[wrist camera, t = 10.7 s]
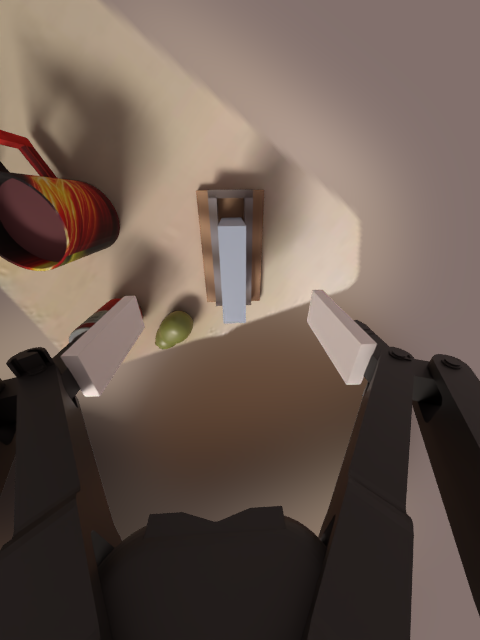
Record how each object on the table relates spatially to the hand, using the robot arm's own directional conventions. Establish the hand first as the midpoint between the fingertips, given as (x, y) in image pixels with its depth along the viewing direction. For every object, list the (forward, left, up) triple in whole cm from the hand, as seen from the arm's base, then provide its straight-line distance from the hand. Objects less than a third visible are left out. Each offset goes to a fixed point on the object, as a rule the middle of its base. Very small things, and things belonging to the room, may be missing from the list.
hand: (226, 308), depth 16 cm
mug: (-6, -23, -23) cm, 33 cm away
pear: (+15, -12, -23) cm, 30 cm away
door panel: (+1, +1, -22) cm, 22 cm away
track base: (+1, +1, -23) cm, 23 cm away
